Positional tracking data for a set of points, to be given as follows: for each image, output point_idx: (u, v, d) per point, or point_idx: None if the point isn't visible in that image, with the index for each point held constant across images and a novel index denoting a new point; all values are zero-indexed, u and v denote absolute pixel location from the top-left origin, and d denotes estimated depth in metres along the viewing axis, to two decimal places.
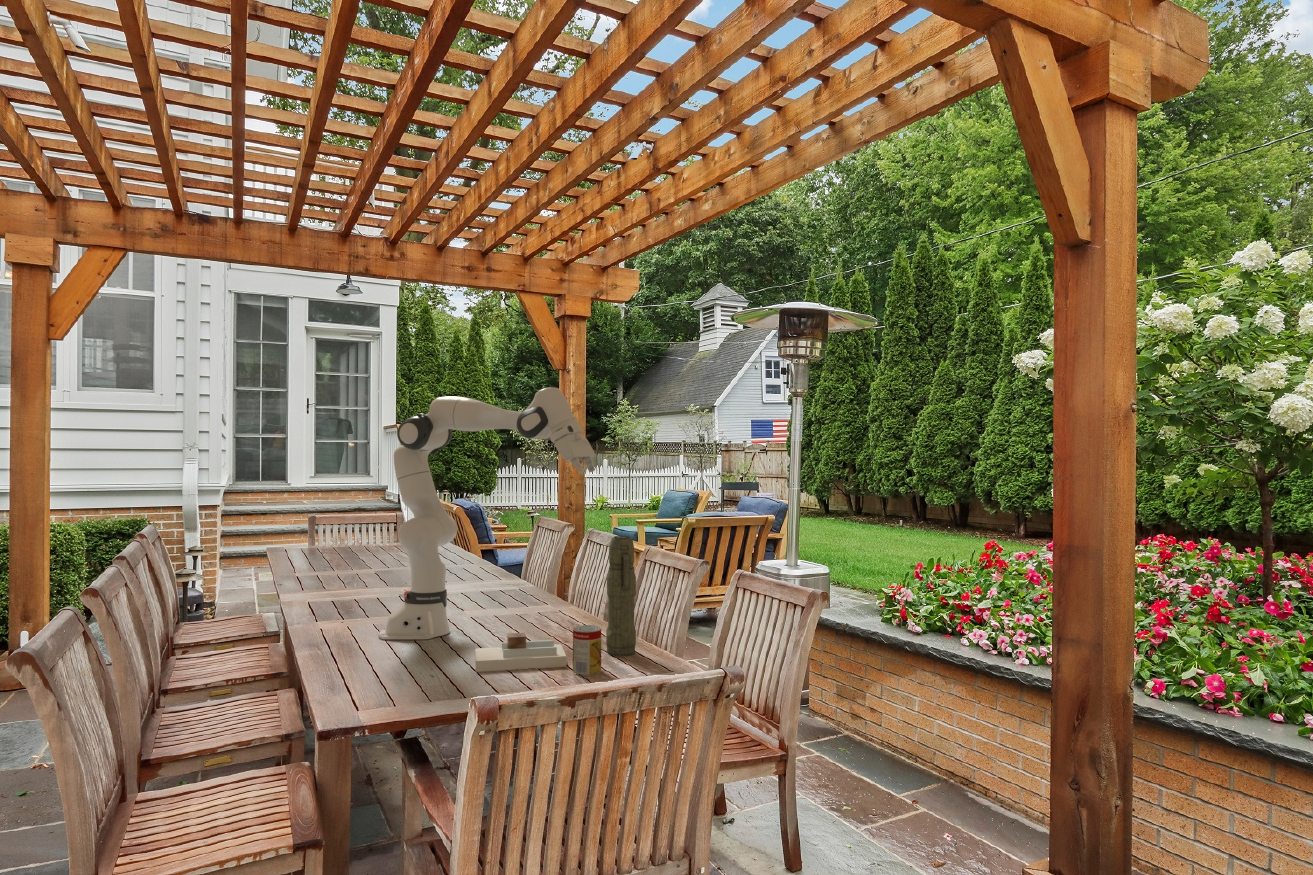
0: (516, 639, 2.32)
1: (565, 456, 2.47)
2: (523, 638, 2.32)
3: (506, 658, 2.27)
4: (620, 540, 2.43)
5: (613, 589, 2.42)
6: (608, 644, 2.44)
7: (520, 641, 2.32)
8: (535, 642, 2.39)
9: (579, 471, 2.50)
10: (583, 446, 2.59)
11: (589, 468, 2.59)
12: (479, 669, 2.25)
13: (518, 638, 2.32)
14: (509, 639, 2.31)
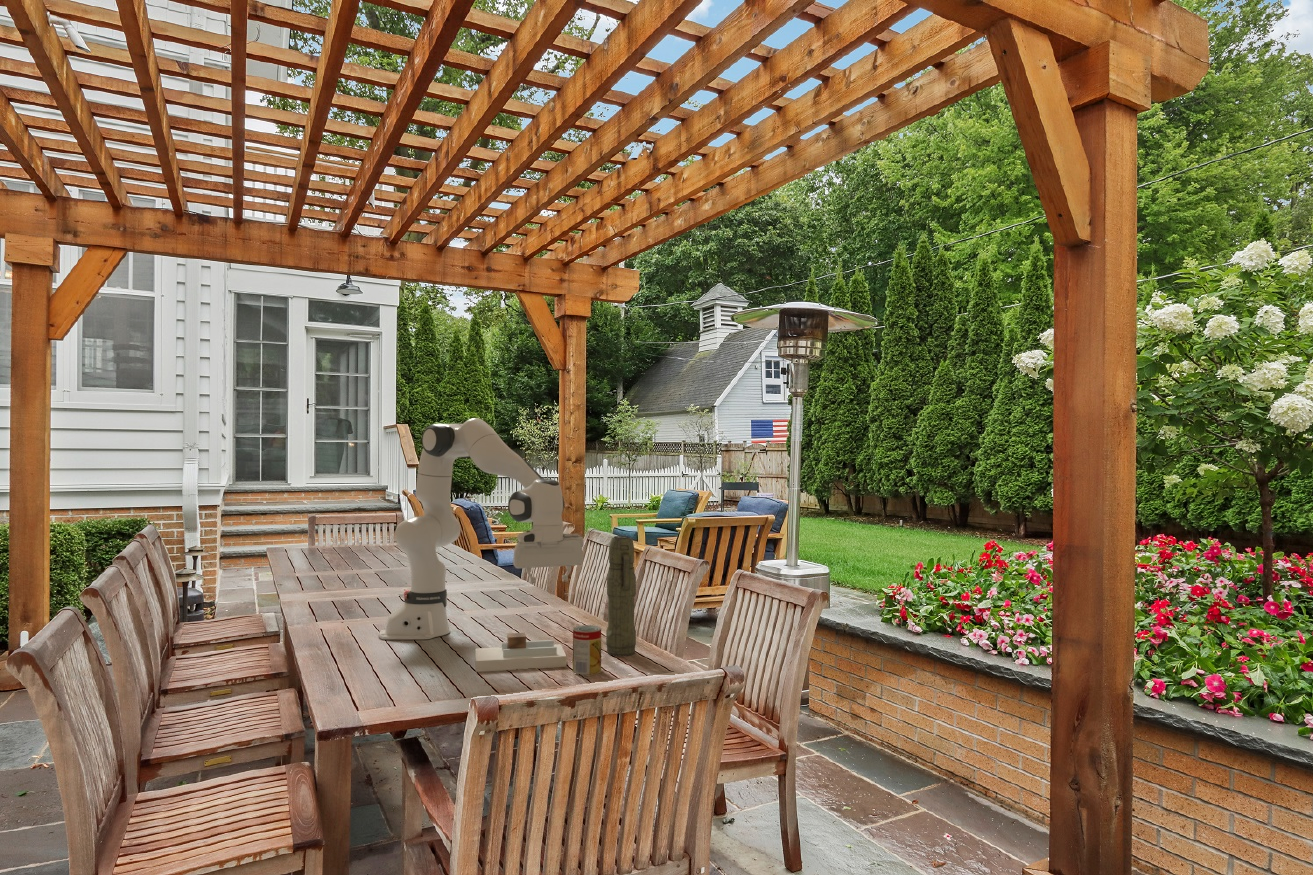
0: (516, 639, 2.32)
1: (513, 563, 2.35)
2: (523, 638, 2.32)
3: (506, 658, 2.27)
4: (620, 540, 2.43)
5: (613, 589, 2.42)
6: (608, 644, 2.44)
7: (520, 641, 2.32)
8: (535, 642, 2.39)
9: None
10: (558, 554, 2.36)
11: (562, 577, 2.38)
12: (479, 669, 2.25)
13: (518, 638, 2.32)
14: (509, 639, 2.31)
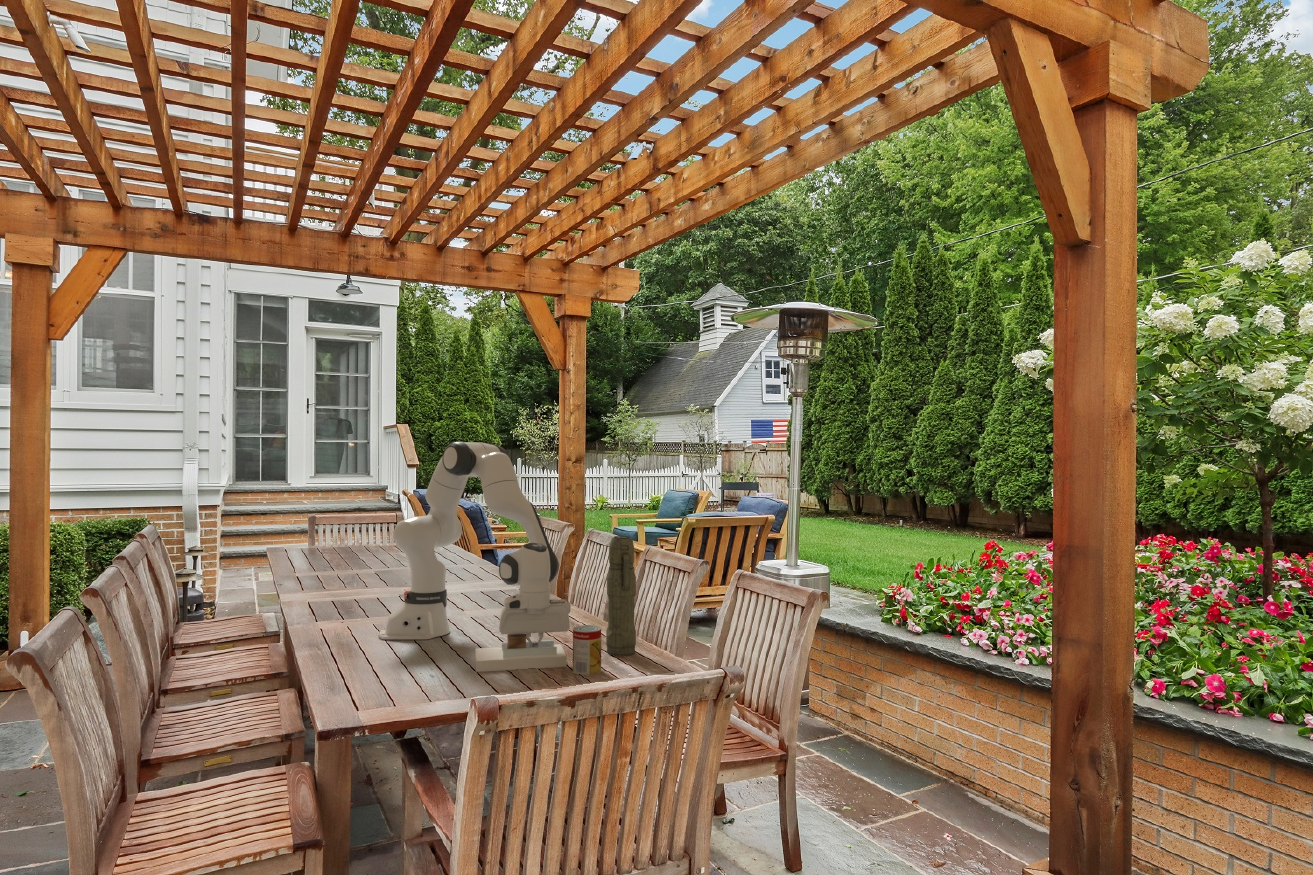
0: (516, 639, 2.32)
1: None
2: (523, 638, 2.32)
3: (506, 658, 2.27)
4: (620, 540, 2.43)
5: (613, 589, 2.42)
6: (608, 644, 2.44)
7: (520, 641, 2.32)
8: None
9: (529, 646, 2.35)
10: (544, 620, 2.34)
11: None
12: (479, 669, 2.25)
13: (518, 638, 2.32)
14: (509, 639, 2.31)
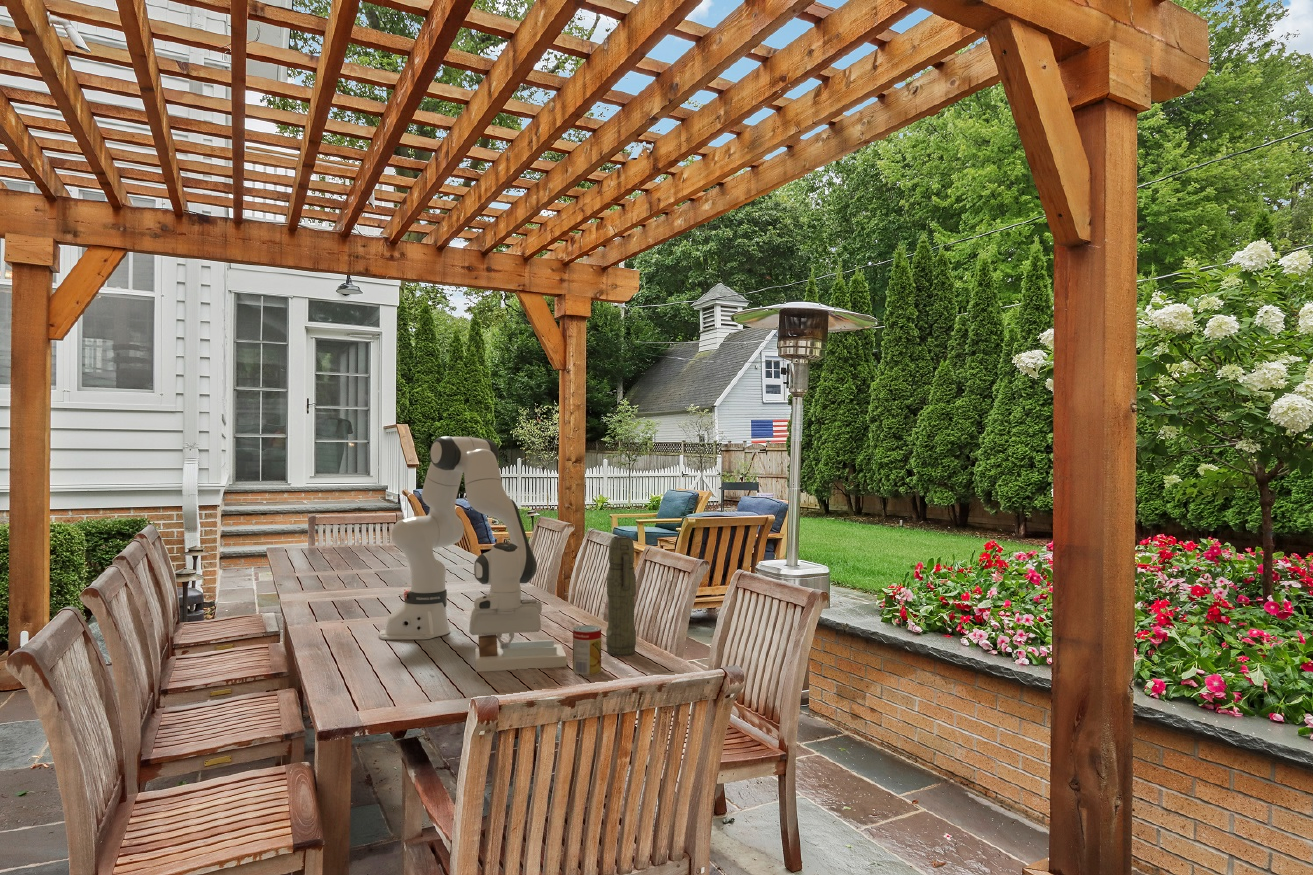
0: (487, 640, 2.29)
1: None
2: (494, 639, 2.30)
3: (506, 658, 2.27)
4: (620, 540, 2.43)
5: (613, 589, 2.42)
6: (608, 644, 2.44)
7: (491, 642, 2.30)
8: (535, 642, 2.39)
9: (500, 646, 2.33)
10: (515, 620, 2.32)
11: None
12: (479, 669, 2.25)
13: (489, 639, 2.29)
14: (480, 641, 2.29)
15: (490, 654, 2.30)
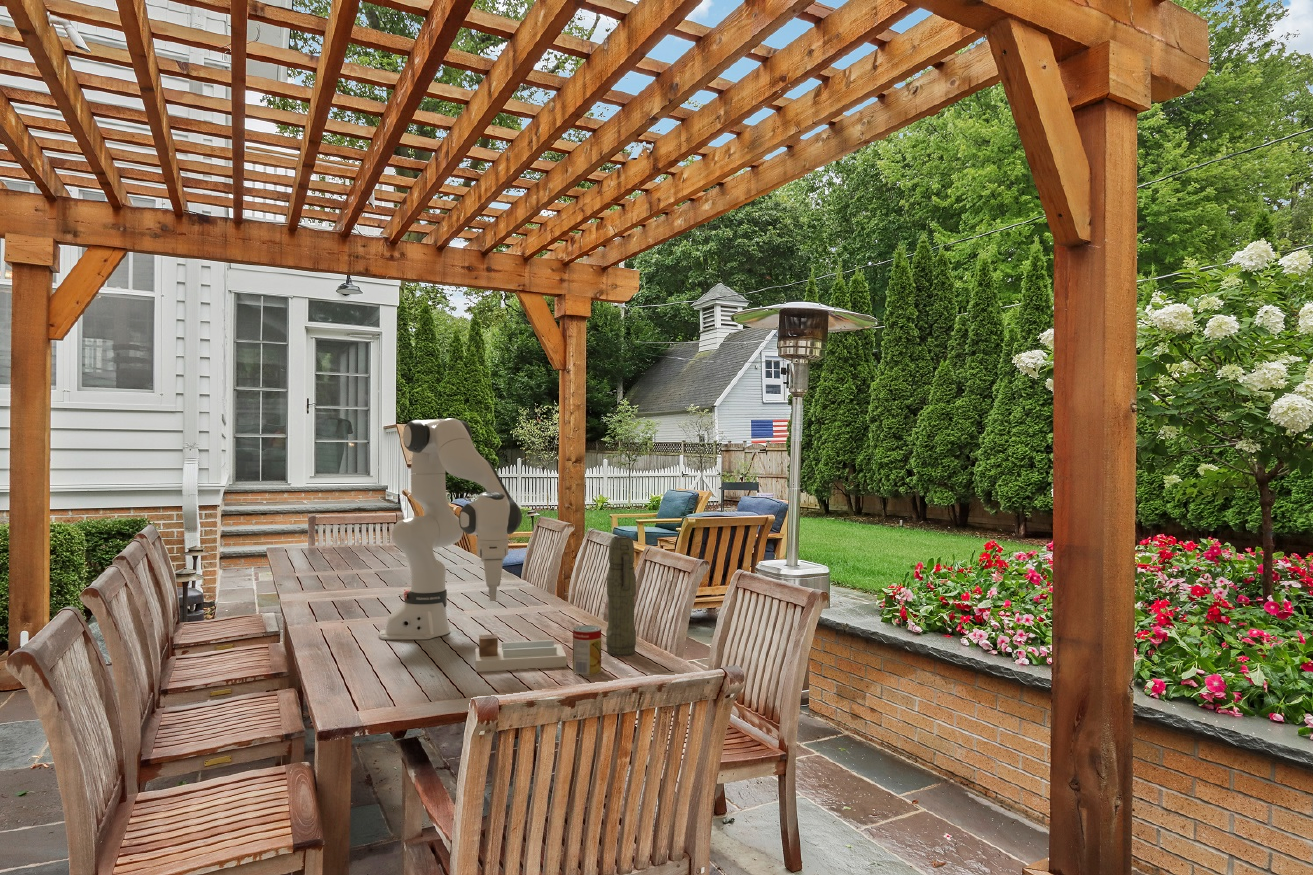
0: (488, 640, 2.29)
1: (490, 582, 2.23)
2: (495, 640, 2.30)
3: (506, 658, 2.27)
4: (620, 540, 2.43)
5: (613, 589, 2.42)
6: (608, 644, 2.44)
7: (492, 643, 2.30)
8: (535, 642, 2.39)
9: (491, 599, 2.27)
10: None
11: None
12: (479, 669, 2.25)
13: (489, 640, 2.30)
14: (480, 641, 2.29)
15: (490, 655, 2.30)
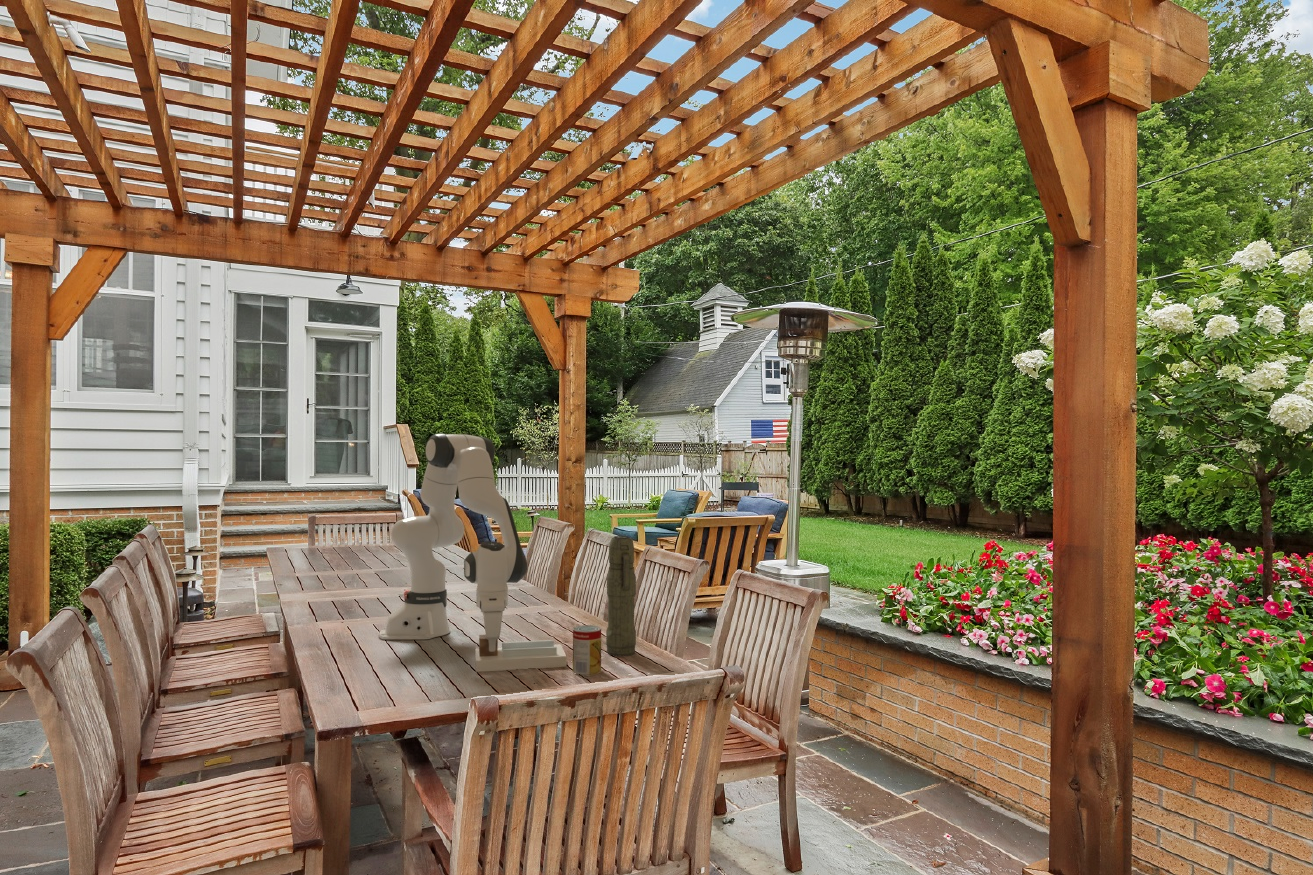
0: (488, 640, 2.30)
1: (490, 635, 2.23)
2: None
3: (506, 658, 2.27)
4: (620, 540, 2.43)
5: (613, 589, 2.42)
6: (608, 644, 2.44)
7: None
8: (535, 642, 2.39)
9: (490, 649, 2.29)
10: None
11: None
12: (479, 669, 2.25)
13: None
14: (480, 640, 2.29)
15: (490, 654, 2.30)
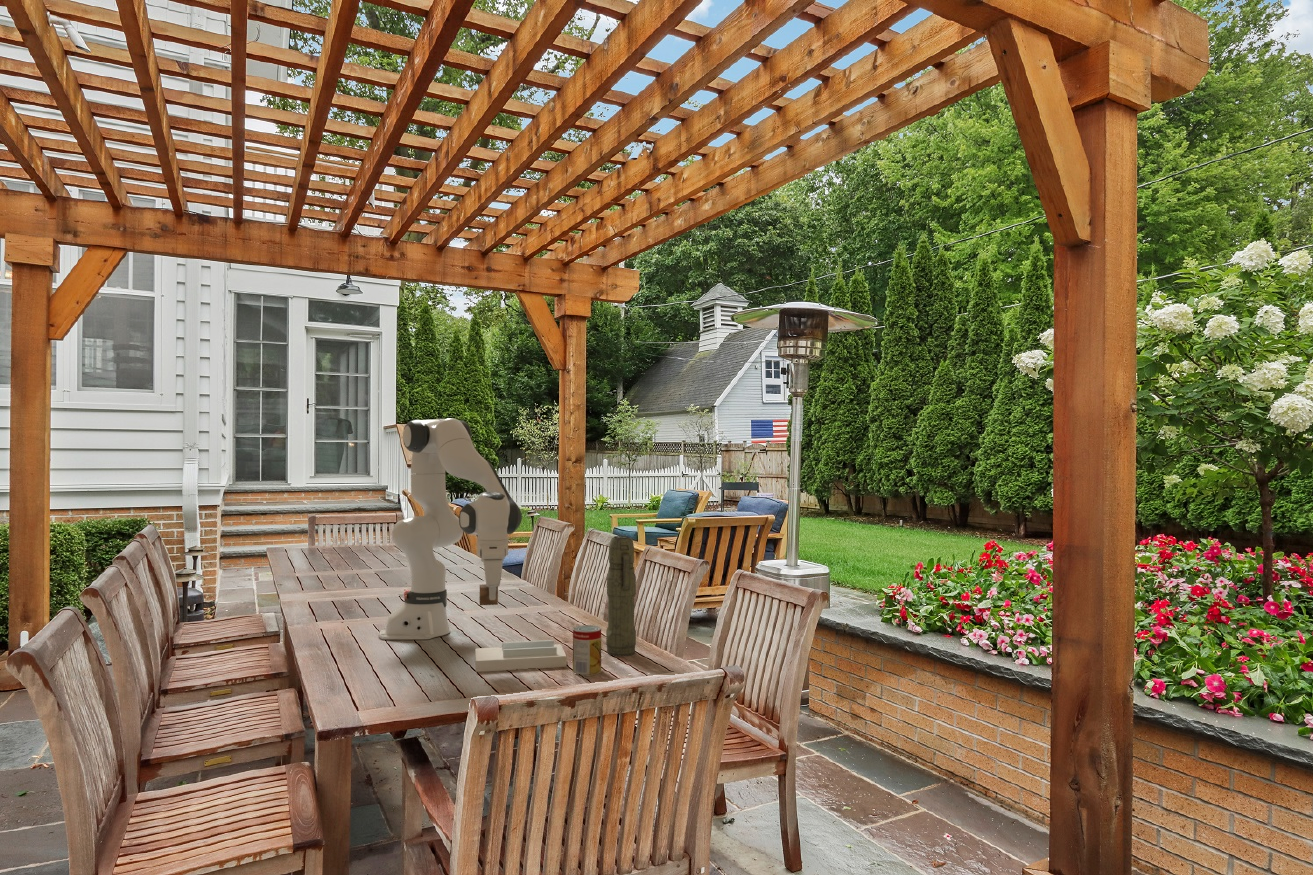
0: (488, 589, 2.30)
1: (490, 583, 2.23)
2: None
3: (506, 658, 2.27)
4: (620, 540, 2.43)
5: (613, 589, 2.42)
6: (608, 644, 2.44)
7: None
8: (535, 642, 2.39)
9: (491, 598, 2.29)
10: None
11: None
12: (479, 669, 2.25)
13: None
14: (481, 589, 2.30)
15: (490, 603, 2.30)
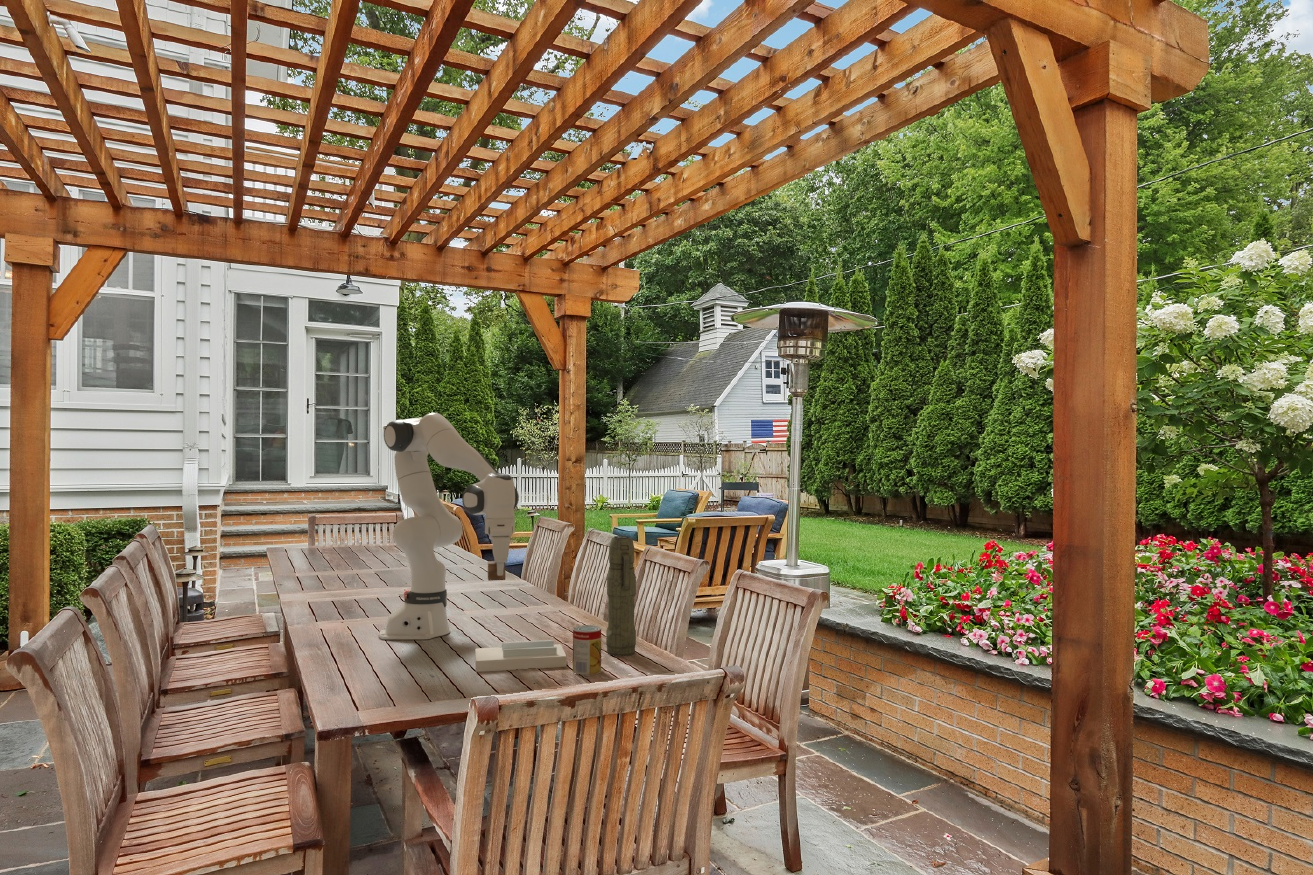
0: (496, 565, 2.41)
1: (498, 558, 2.34)
2: None
3: (506, 658, 2.27)
4: (620, 540, 2.43)
5: (613, 589, 2.42)
6: (608, 644, 2.44)
7: None
8: (535, 642, 2.39)
9: (498, 573, 2.40)
10: None
11: None
12: (479, 669, 2.25)
13: None
14: (489, 565, 2.41)
15: (498, 579, 2.41)
